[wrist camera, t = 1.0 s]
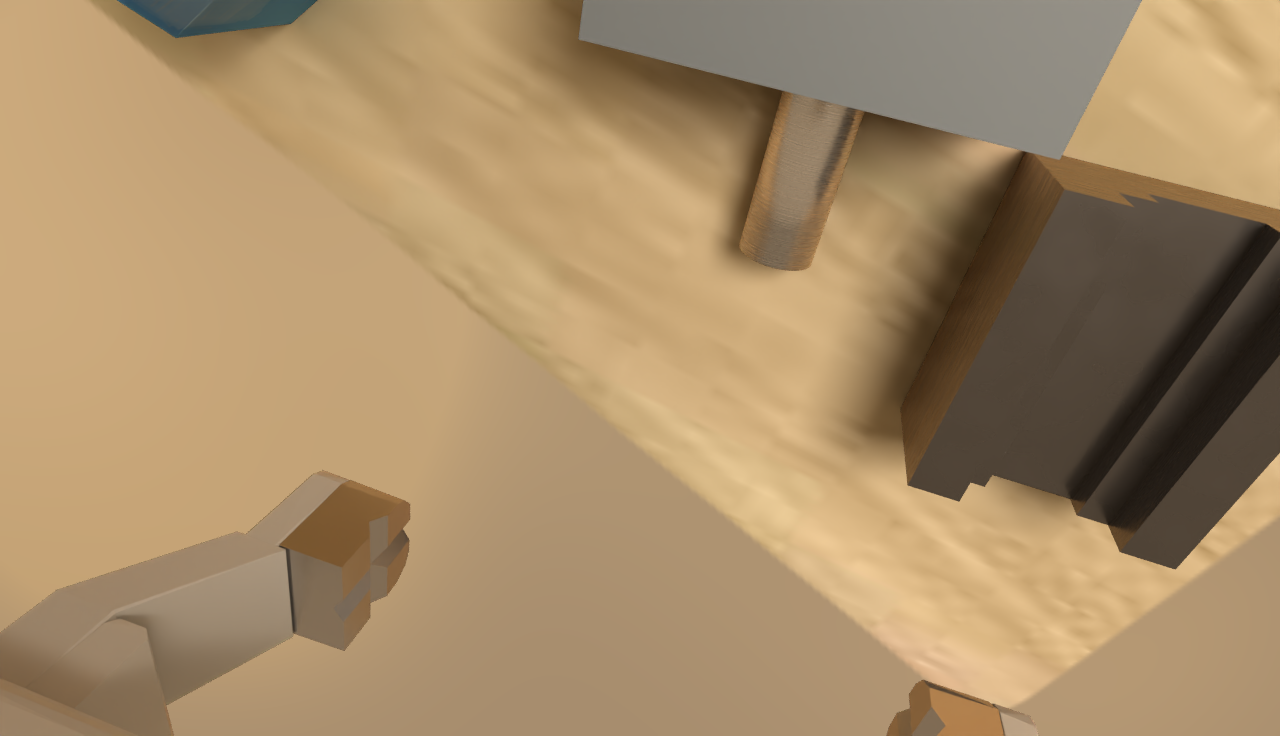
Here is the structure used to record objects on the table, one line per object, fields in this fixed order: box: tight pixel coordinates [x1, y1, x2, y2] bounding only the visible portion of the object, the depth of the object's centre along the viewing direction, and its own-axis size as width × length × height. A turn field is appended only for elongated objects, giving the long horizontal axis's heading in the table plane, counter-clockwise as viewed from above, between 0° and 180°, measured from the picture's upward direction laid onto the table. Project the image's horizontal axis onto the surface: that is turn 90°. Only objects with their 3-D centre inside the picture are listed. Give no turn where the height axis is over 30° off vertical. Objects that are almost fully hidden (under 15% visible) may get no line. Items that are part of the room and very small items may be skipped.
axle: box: [739, 91, 865, 271], centre depth 25 cm, size 12×3×3 cm, turn 169°
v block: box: [901, 152, 1280, 569], centre depth 26 cm, size 12×10×6 cm
